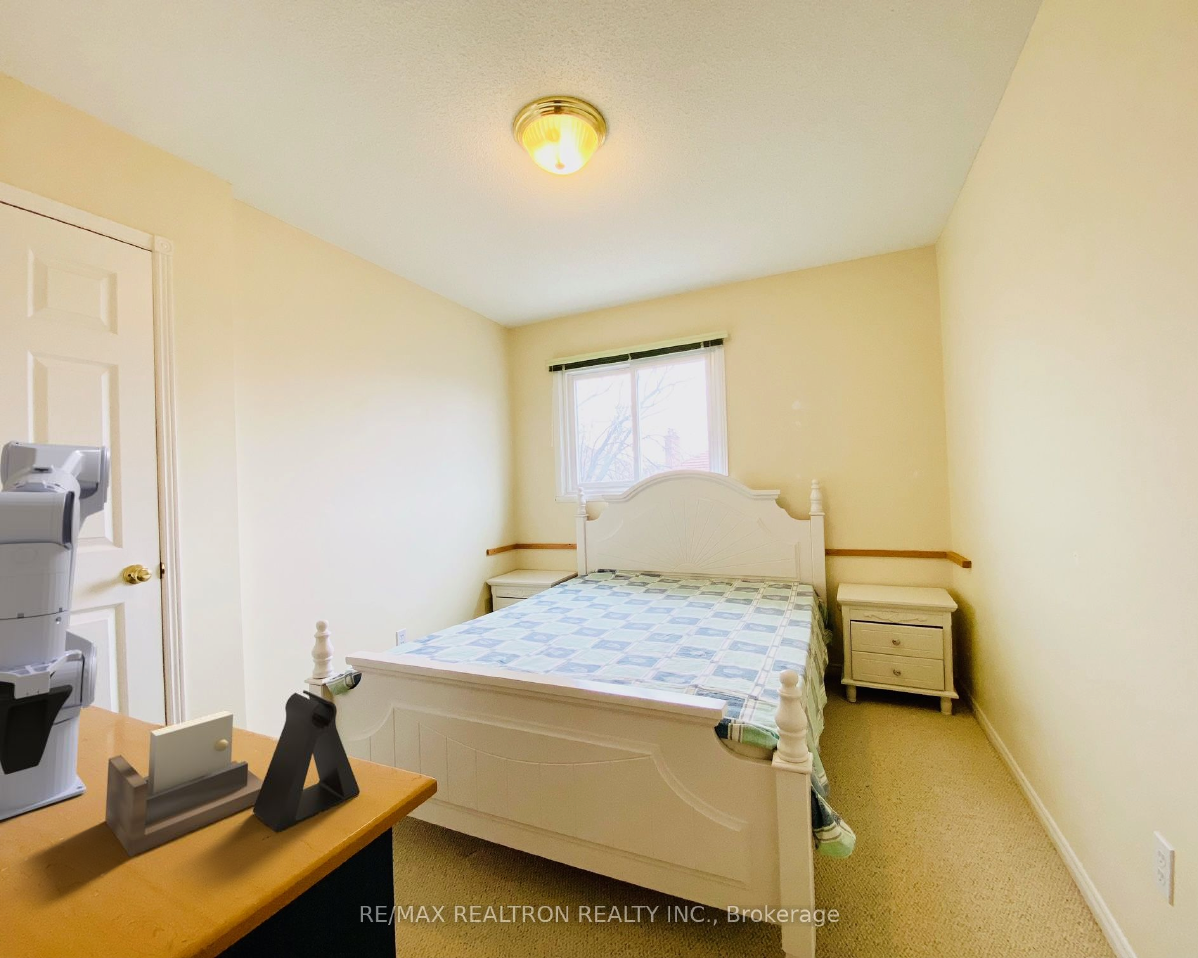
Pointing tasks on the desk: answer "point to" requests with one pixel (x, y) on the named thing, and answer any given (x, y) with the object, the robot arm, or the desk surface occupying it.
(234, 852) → the desk surface
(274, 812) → the phone stand
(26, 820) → the desk surface
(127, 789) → the brown base with rails
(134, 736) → the desk surface
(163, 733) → the cabinet door
